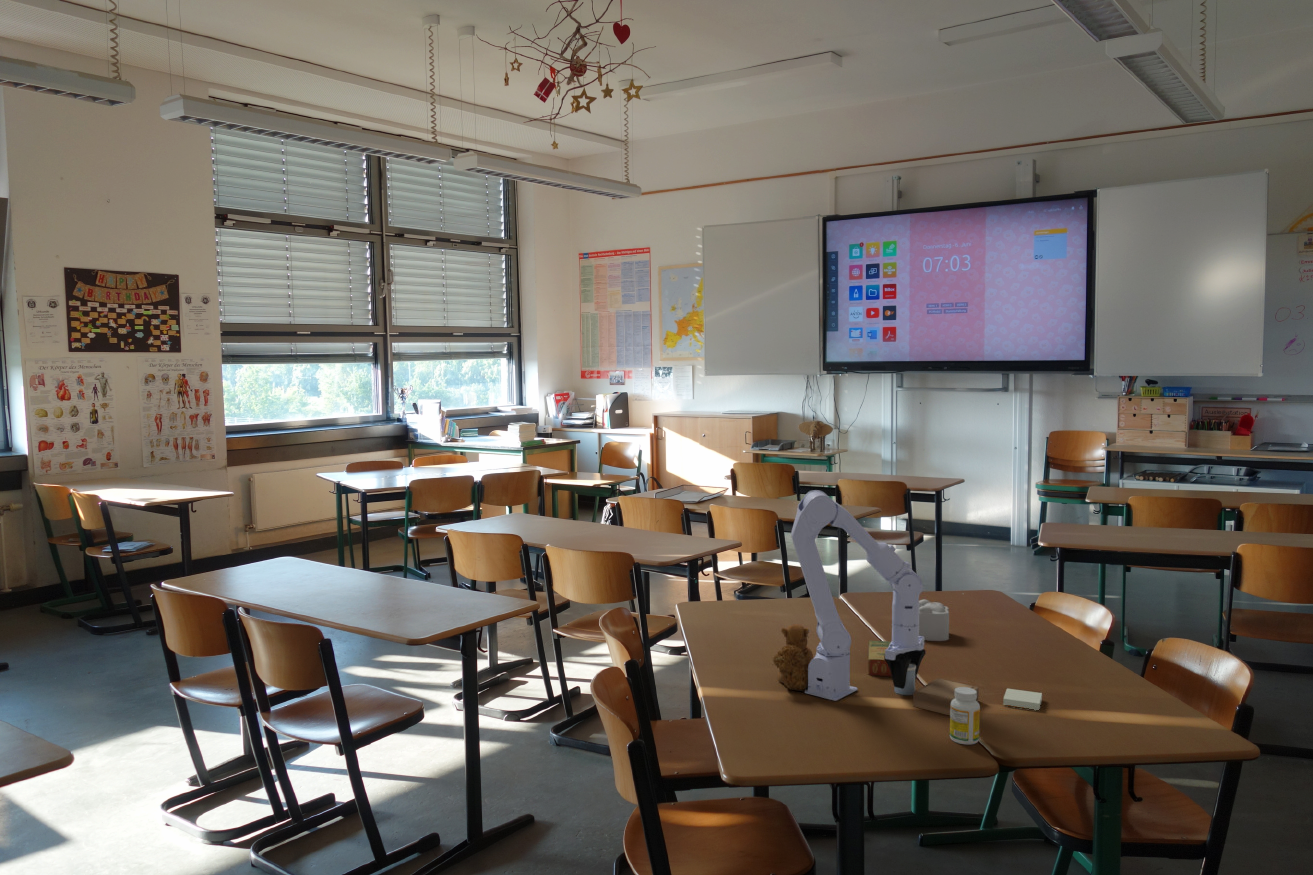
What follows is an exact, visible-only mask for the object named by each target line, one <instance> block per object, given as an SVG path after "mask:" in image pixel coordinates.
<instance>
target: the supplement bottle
mask: <svg viewBox="0 0 1313 875" xmlns="http://www.w3.org/2000/svg"><path fill="white" fill-rule="evenodd" d="M954 695H955V699H953V700H952V701H951V706H950V715H949V717H950V718H949V738H950V739H951V740H952V742H955V743H956V744H960V745H966V746H967V745H968V746H969V745H975V744H977V743H979V741H980V724H981V723H980V718H981V714H980V713H981V706H980V703H979V701H976V698H977V691H976V690H974V689H972V688H968V687H958V688H956V689H955V694H954Z"/></svg>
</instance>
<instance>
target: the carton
mask: <svg viewBox="0 0 1313 875" xmlns="http://www.w3.org/2000/svg"><path fill="white" fill-rule="evenodd" d="M890 643H891V641H889V640H888V641H887V640H869V641H868V652H867V657H868V660H867V662H868V663H867V665H868V666H867V668H868V669H867V673H868V674H867V675H868V676H881V677H882V676H883V677H892V675H891V672H890V669H889V666H888V664H887V662H886V661H885V659H884V655H885V650H886V649H888V647H889V645H890Z"/></svg>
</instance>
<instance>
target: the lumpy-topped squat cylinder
mask: <svg viewBox="0 0 1313 875" xmlns="http://www.w3.org/2000/svg"><path fill="white" fill-rule="evenodd" d="M949 609H950V608H949V607H948V606H945V605H944V604H943V603H941V602H935V601H934V602H931V601H930V600H929V599H925V598H924V599H919V636H922V637H924V641H930V642H931V641H932V642H934V641H935V642H944V641H948V640H950V638H949V637H950V611H949Z"/></svg>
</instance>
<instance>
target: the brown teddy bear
mask: <svg viewBox="0 0 1313 875" xmlns="http://www.w3.org/2000/svg"><path fill="white" fill-rule="evenodd" d="M780 632H781V634H782V635H783V638H785V644H786V645H783V646H782V648H781V650H779V651H777V653H776V654H775V655H774V656H773V657H772V658H771V659H772V662H773V663H772V664H771V665H774V666H775V667H776V668H777V669H779V671H778V673H777V680H778V682H779V683H782V684H783V685H784V686H785V687H786V688H787V689H788V690H791V691H797V692H798V691H801V692H805V690H807V689H808V666H809V663H810V661H811V660H812V659H813V658H814V654H813V651H812V649H811V648H810V647H809V646H808V638H810V637H809V633H810V632H811V630H810V628H809V627H805V626H803V625H802V624H798V623H795V624H791V625H789V626H788V627H786V628H785V627H781V628H780Z"/></svg>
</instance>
